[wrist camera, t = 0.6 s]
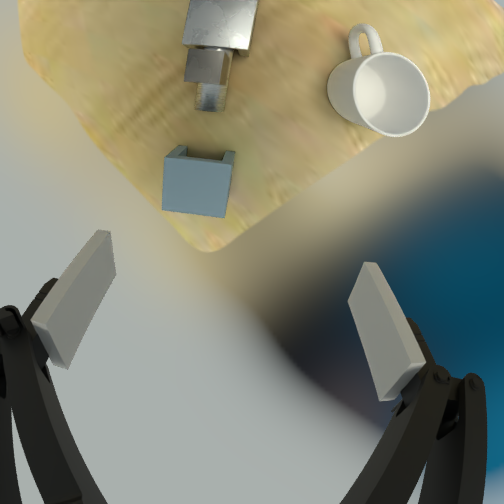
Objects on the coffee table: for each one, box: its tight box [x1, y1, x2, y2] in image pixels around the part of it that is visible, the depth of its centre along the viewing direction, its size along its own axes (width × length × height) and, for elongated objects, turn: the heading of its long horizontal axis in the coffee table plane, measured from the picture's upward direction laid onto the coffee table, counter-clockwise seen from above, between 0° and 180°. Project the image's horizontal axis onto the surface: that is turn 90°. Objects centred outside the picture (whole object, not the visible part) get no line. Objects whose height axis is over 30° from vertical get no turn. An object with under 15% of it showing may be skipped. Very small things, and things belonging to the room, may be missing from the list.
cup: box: [327, 23, 430, 137], centre depth 25 cm, size 8×12×10 cm
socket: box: [162, 145, 235, 218], centre depth 33 cm, size 6×7×6 cm
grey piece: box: [184, 46, 234, 112], centre depth 23 cm, size 15×3×9 cm, turn 171°
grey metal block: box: [182, 0, 259, 57], centre depth 23 cm, size 8×6×6 cm
